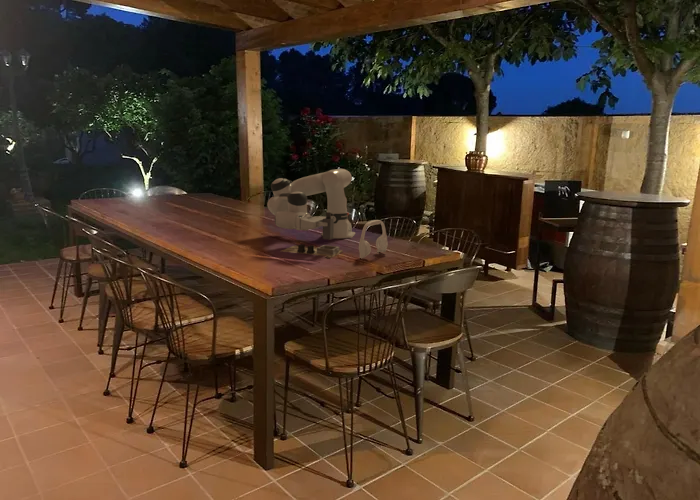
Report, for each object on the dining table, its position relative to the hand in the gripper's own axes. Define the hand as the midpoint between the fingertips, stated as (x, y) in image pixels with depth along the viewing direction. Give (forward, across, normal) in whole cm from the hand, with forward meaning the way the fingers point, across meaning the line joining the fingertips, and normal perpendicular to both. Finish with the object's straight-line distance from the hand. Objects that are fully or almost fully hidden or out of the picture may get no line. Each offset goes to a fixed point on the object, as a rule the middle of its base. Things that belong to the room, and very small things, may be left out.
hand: (329, 223), depth 272 cm
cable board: (-10, 0, -16) cm, 18 cm away
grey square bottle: (-1, 0, -8) cm, 8 cm away
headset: (+20, -7, -16) cm, 27 cm away
